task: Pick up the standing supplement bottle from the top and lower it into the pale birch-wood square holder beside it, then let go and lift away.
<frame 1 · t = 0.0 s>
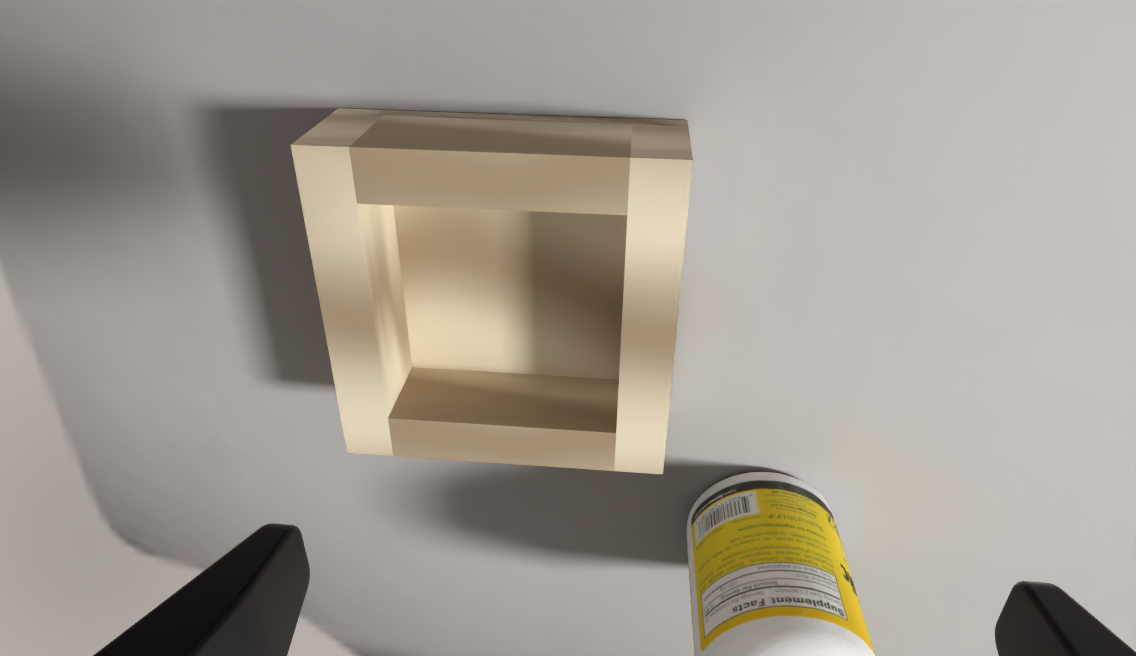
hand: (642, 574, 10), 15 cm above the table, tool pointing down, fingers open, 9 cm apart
supplement bottle: (758, 516, 29), on the table
square holder: (514, 271, 24), on the table
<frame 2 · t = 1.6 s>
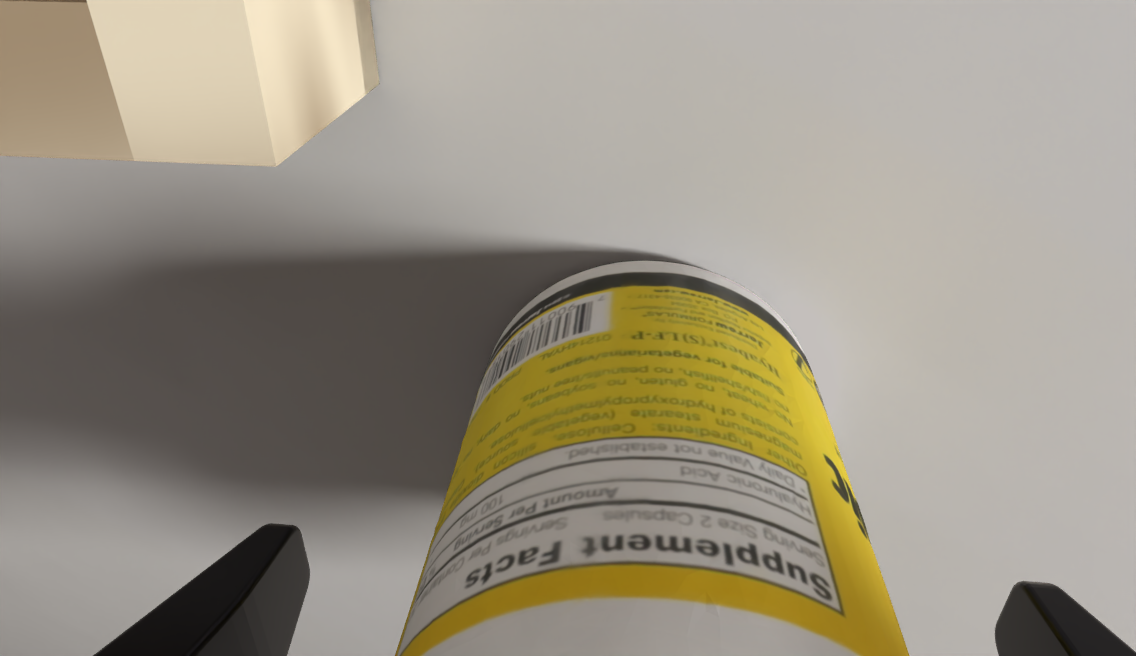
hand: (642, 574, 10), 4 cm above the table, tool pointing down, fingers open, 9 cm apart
supplement bottle: (647, 386, 13), on the table
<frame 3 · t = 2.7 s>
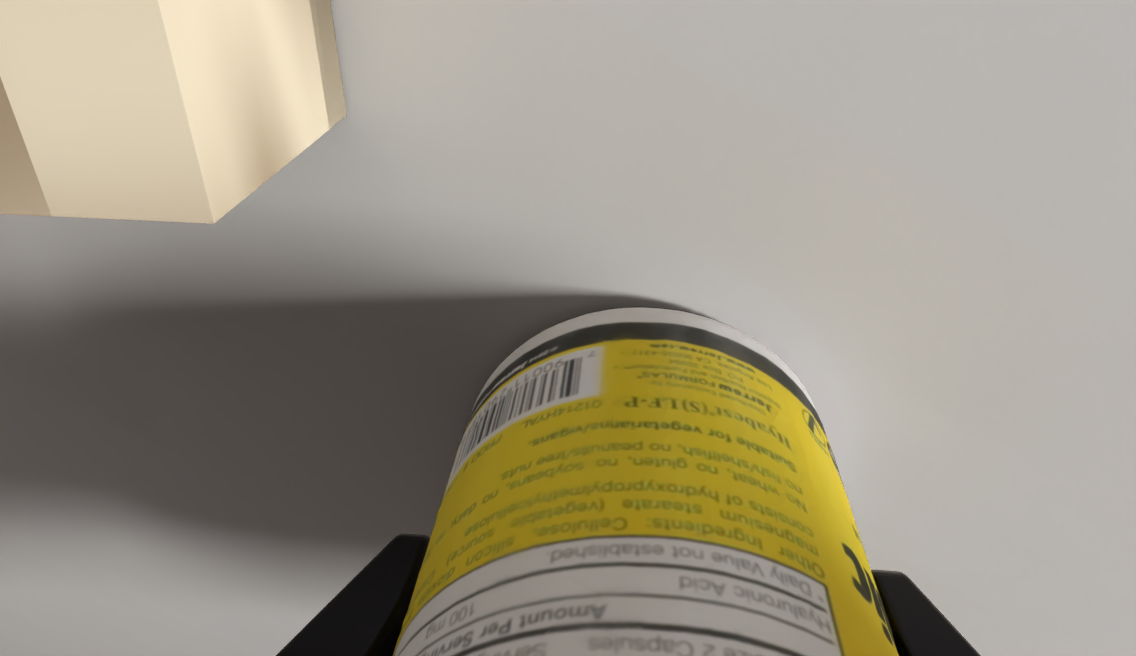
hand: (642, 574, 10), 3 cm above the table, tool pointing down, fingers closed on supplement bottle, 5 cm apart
supplement bottle: (644, 437, 12), on the table, touching gripper
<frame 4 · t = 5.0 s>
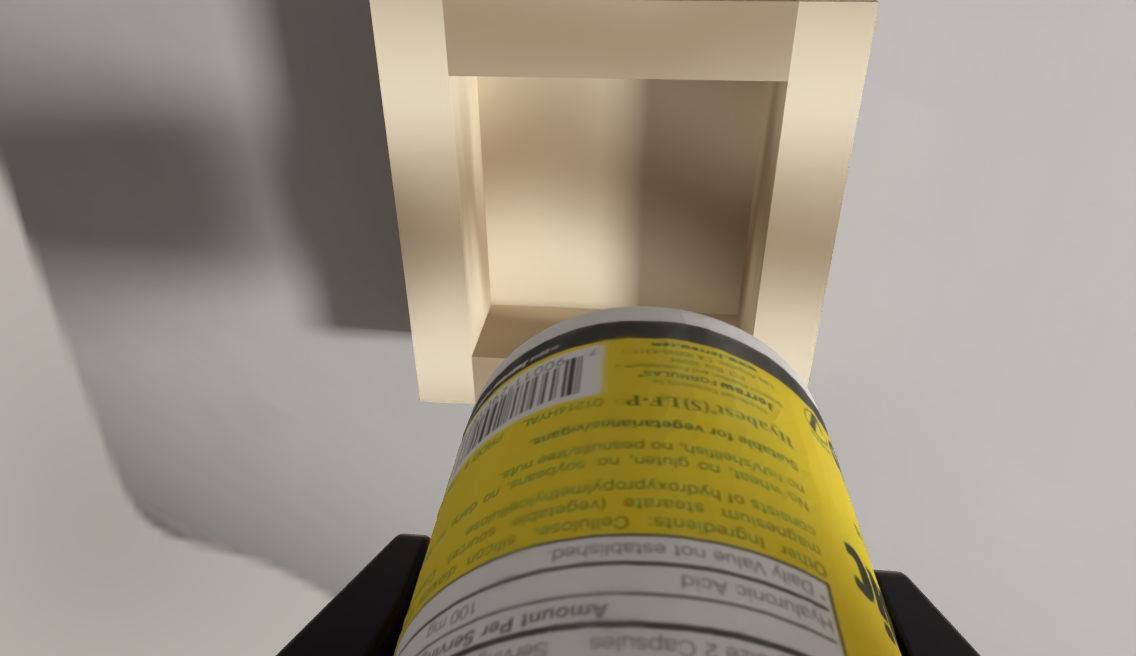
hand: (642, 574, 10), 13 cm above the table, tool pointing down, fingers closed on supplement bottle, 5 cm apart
supplement bottle: (645, 436, 12), point 10 cm above the table, touching gripper
square holder: (617, 184, 20), on the table
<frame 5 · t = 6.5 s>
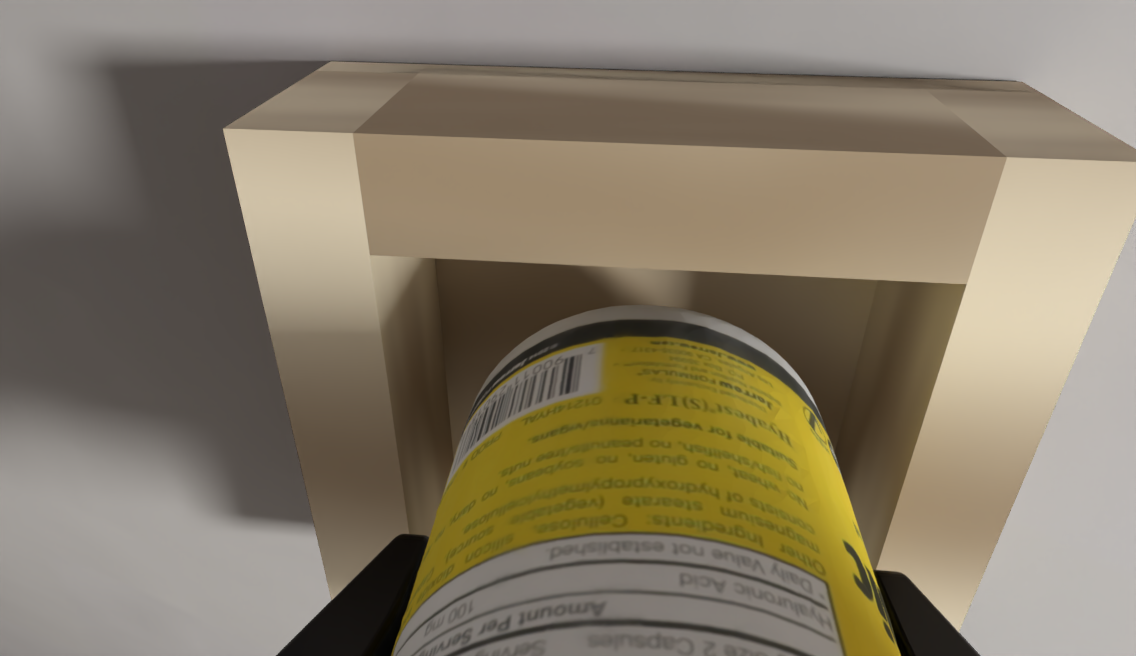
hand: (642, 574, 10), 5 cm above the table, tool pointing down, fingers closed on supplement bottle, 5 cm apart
supplement bottle: (644, 435, 12), point 2 cm above the table, touching gripper
square holder: (644, 357, 14), on the table
when the fingers open (4 cm above the table, at t = 7.5 s): supplement bottle drops 1 cm, resting on square holder.
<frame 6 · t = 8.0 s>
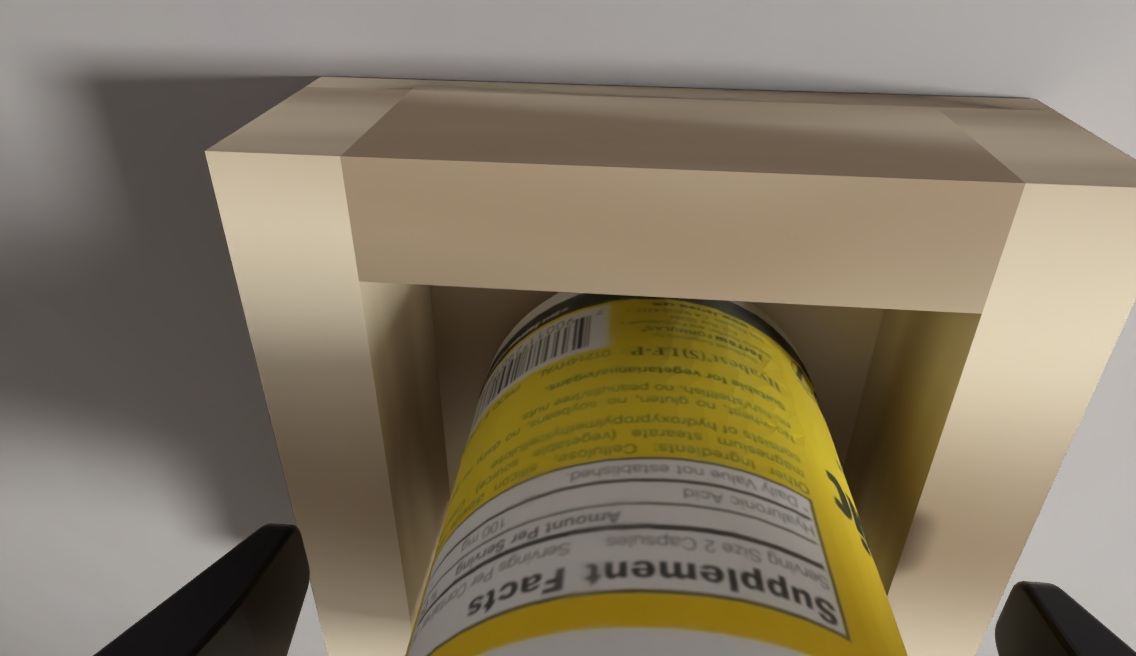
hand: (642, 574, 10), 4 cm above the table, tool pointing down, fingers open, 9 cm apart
supplement bottle: (646, 396, 13), resting on square holder
square holder: (644, 378, 13), on the table
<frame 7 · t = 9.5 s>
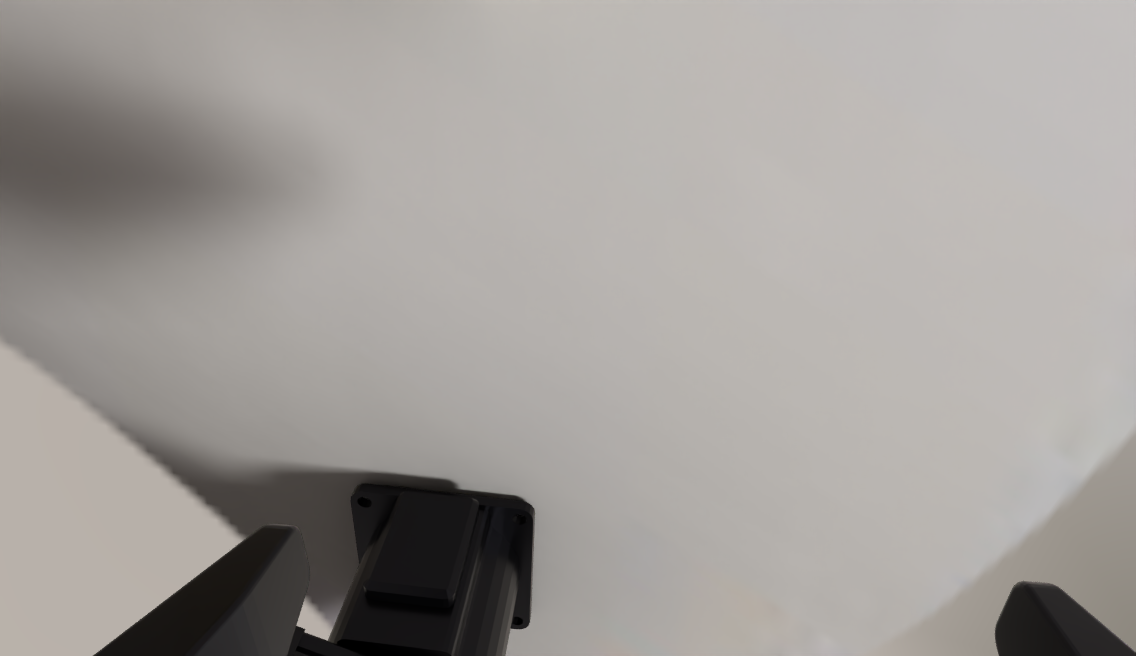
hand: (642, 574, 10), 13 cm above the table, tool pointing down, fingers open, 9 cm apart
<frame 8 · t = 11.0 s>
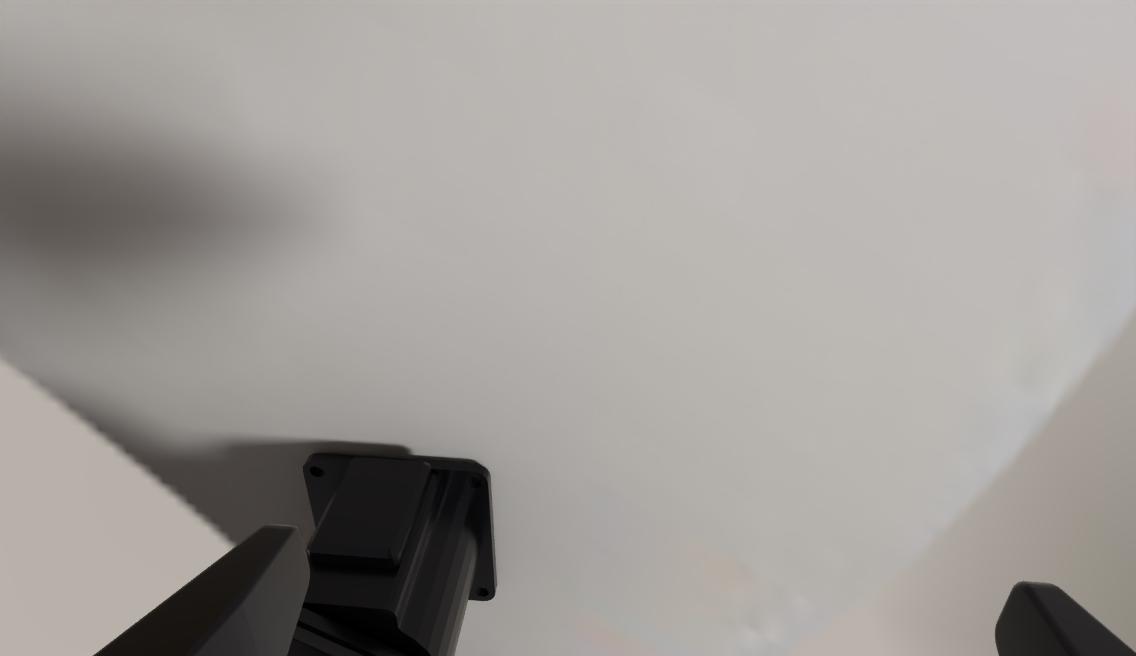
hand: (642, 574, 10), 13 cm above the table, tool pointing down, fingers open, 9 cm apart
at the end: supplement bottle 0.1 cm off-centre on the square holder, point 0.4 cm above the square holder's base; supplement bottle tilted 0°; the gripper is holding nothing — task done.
